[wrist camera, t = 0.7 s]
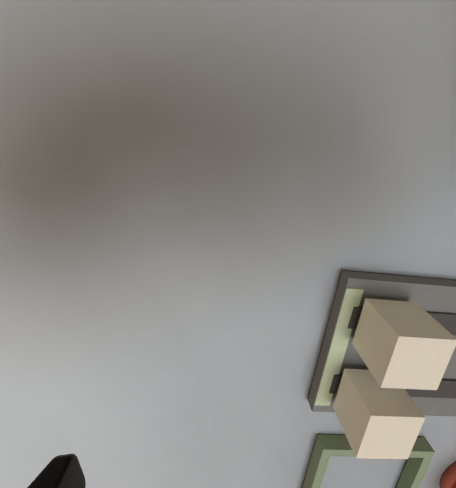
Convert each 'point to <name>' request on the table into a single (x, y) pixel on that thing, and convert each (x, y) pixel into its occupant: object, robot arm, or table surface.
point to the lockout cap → (449, 477)
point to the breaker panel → (345, 323)
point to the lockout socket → (341, 447)
